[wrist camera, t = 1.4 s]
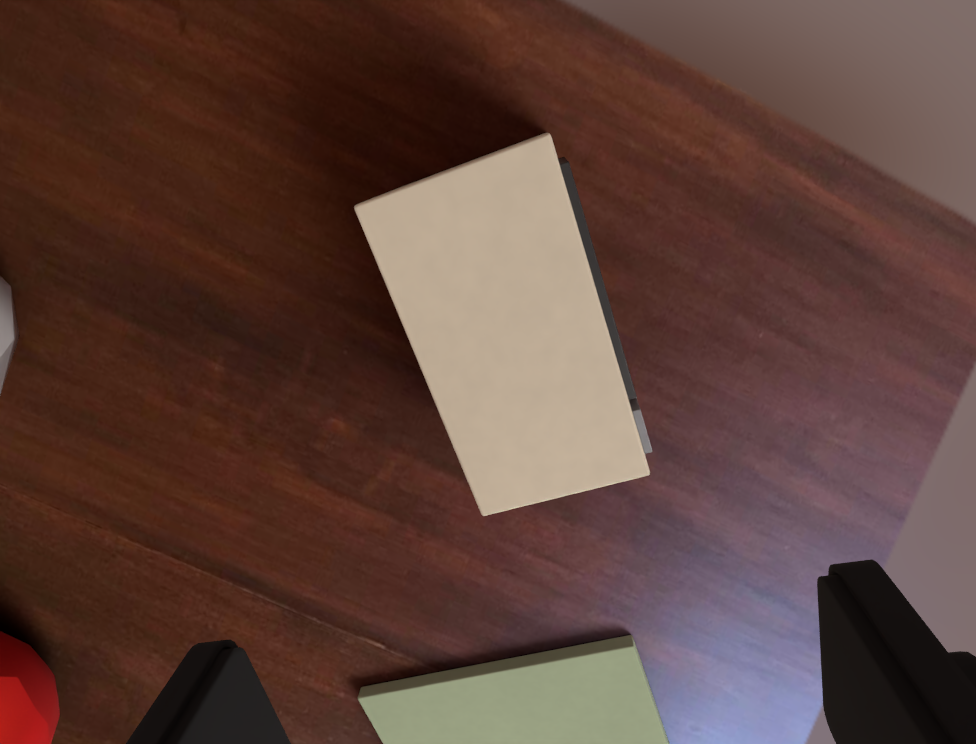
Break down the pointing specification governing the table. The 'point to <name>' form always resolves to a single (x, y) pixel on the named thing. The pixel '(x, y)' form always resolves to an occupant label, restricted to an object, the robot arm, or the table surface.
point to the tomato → (26, 695)
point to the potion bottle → (7, 329)
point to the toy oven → (511, 325)
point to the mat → (524, 701)
